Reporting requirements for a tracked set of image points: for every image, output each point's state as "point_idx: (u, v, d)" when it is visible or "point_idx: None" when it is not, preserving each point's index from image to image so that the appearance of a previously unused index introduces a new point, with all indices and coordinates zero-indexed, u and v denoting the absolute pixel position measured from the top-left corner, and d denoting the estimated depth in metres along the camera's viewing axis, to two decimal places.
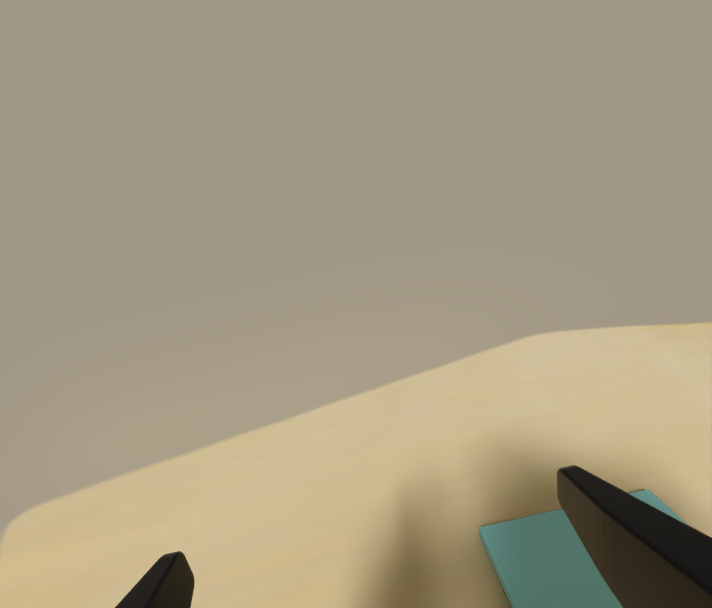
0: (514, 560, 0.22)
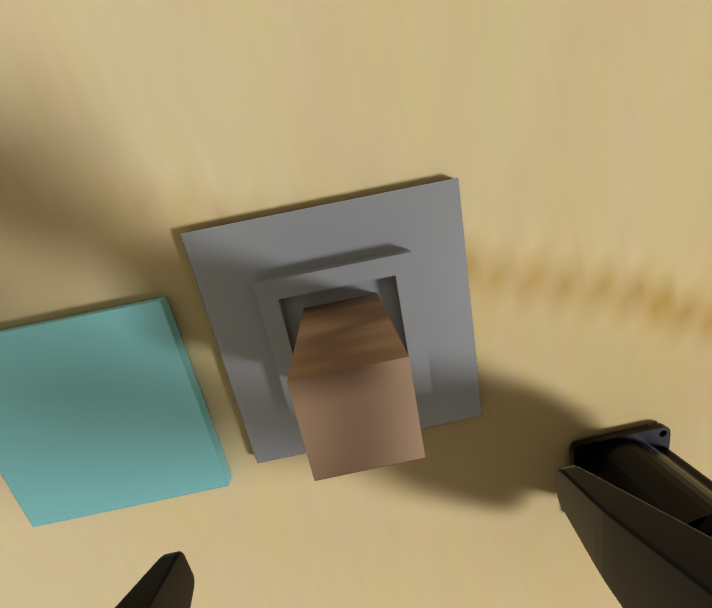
0: (66, 503, 0.21)
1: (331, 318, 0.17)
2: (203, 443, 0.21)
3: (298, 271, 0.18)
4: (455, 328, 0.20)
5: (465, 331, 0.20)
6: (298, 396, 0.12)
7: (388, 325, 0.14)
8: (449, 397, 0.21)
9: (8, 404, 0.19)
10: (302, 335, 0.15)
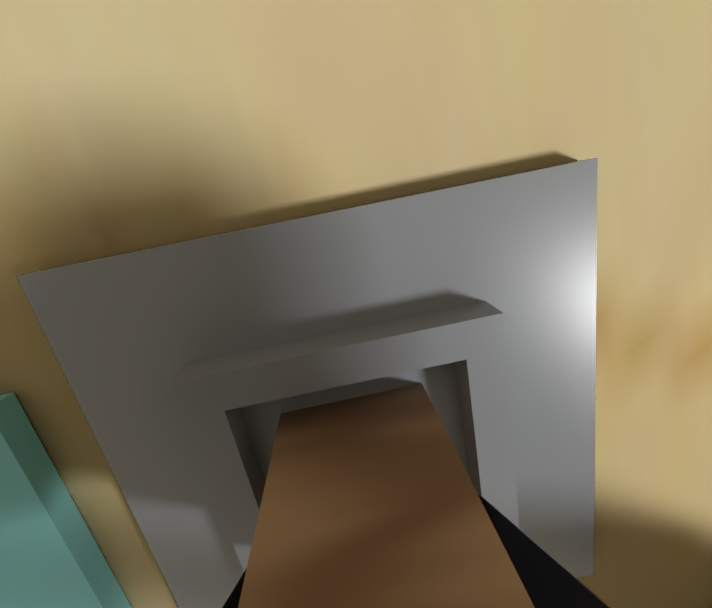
0: None
1: (334, 471, 0.07)
2: None
3: (268, 347, 0.09)
4: (563, 440, 0.11)
5: (580, 444, 0.11)
6: None
7: (496, 555, 0.05)
8: None
9: None
10: (263, 551, 0.06)
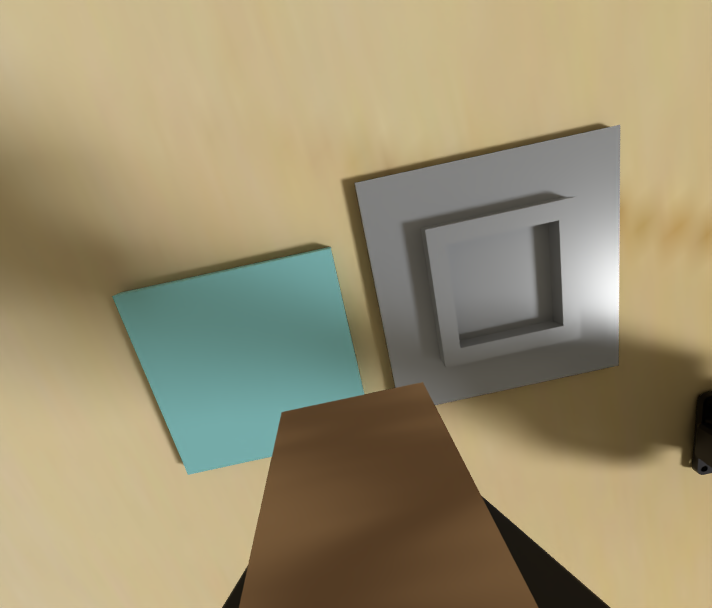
0: (221, 451, 0.22)
1: (336, 470, 0.07)
2: (354, 391, 0.22)
3: (461, 219, 0.19)
4: (601, 276, 0.21)
5: (611, 279, 0.21)
6: None
7: (499, 554, 0.05)
8: (589, 346, 0.22)
9: (180, 351, 0.20)
10: (264, 549, 0.06)
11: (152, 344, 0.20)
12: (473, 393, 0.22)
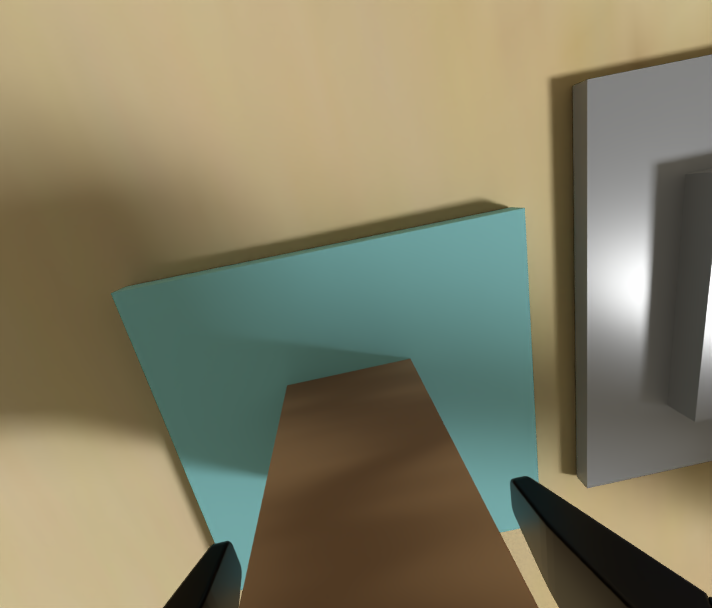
0: None
1: (334, 426, 0.09)
2: (523, 458, 0.13)
3: None
4: None
5: None
6: None
7: (461, 476, 0.07)
8: None
9: (234, 394, 0.11)
10: (276, 482, 0.07)
11: (184, 382, 0.11)
12: (705, 457, 0.14)
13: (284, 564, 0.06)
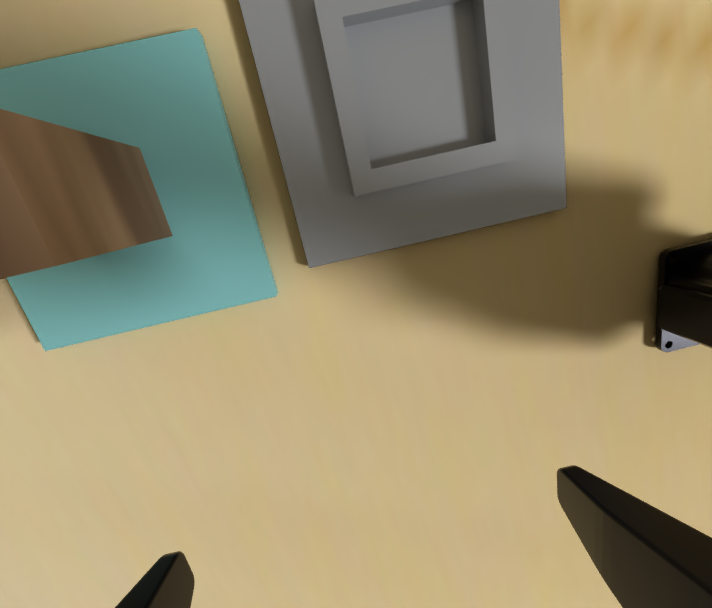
0: (85, 318, 0.18)
1: None
2: (247, 236, 0.18)
3: None
4: (542, 84, 0.17)
5: (553, 89, 0.17)
6: None
7: (58, 127, 0.11)
8: (531, 181, 0.18)
9: None
10: None
11: None
12: (396, 243, 0.19)
13: None
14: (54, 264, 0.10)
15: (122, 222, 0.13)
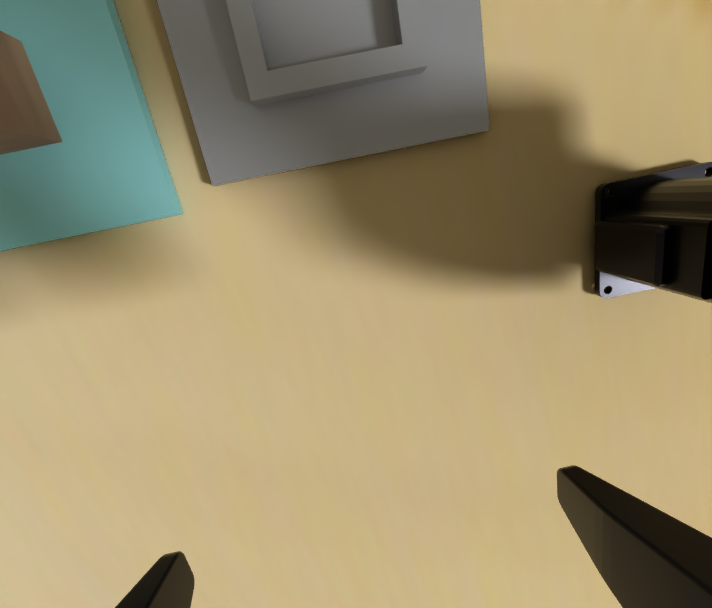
0: None
1: None
2: (142, 146, 0.17)
3: None
4: None
5: None
6: None
7: None
8: (449, 97, 0.17)
9: None
10: None
11: None
12: (305, 161, 0.18)
13: None
14: None
15: None
